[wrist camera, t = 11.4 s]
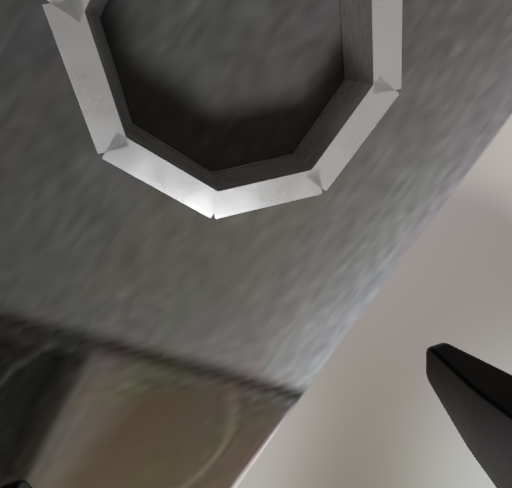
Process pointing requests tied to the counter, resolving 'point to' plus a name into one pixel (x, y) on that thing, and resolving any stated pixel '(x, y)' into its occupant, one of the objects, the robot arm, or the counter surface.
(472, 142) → the counter surface
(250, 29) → the counter surface
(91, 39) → the white octagonal ring
